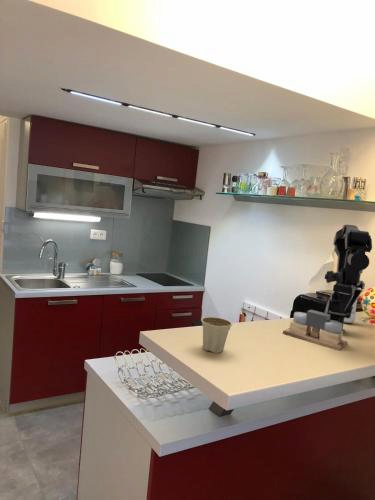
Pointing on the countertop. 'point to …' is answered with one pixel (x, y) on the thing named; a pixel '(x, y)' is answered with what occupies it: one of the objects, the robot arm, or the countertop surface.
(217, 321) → the flower pot
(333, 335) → the display stand
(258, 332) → the countertop surface
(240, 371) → the countertop surface
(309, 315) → the grey dumbbell shape
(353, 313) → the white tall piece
